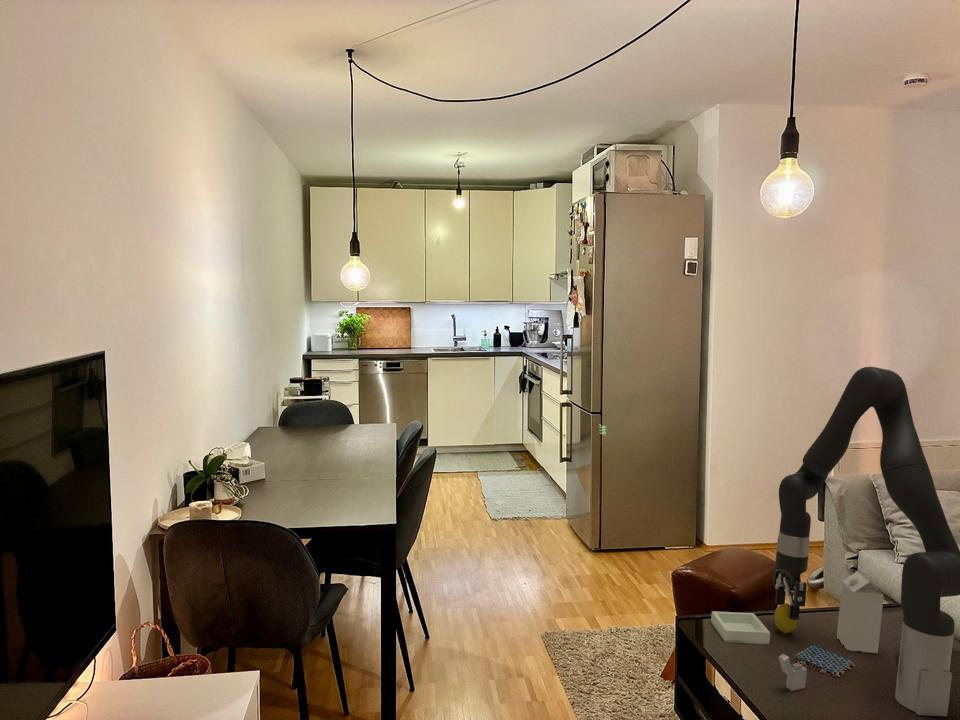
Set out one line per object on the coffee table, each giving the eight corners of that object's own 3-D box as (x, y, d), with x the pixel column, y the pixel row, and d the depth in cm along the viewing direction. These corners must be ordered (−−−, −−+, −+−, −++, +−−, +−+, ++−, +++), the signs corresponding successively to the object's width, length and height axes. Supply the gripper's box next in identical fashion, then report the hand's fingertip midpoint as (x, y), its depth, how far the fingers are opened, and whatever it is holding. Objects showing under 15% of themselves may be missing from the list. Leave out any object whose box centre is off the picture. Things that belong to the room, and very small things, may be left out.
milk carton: (865, 640, 185) (872, 568, 183) (877, 654, 178) (885, 579, 176) (836, 638, 186) (843, 565, 184) (847, 651, 178) (855, 576, 177)
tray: (769, 644, 180) (770, 632, 180) (724, 642, 180) (725, 630, 180) (752, 624, 191) (753, 613, 191) (710, 622, 191) (711, 611, 191)
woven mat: (791, 663, 172) (791, 654, 172) (812, 650, 179) (813, 642, 179) (835, 682, 164) (836, 673, 164) (856, 668, 171) (857, 660, 171)
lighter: (799, 683, 162) (802, 649, 161) (805, 687, 160) (808, 652, 159) (775, 689, 159) (778, 654, 158) (781, 693, 157) (784, 657, 157)
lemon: (768, 630, 188) (770, 600, 187) (783, 627, 190) (786, 597, 189) (785, 640, 183) (788, 609, 182) (801, 636, 185) (803, 606, 184)
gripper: (820, 561, 178) (813, 625, 179) (795, 541, 192) (789, 600, 194) (789, 560, 178) (783, 623, 179) (767, 539, 192) (761, 598, 194)
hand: (786, 611), depth 186 cm, fingers open, 8 cm apart
